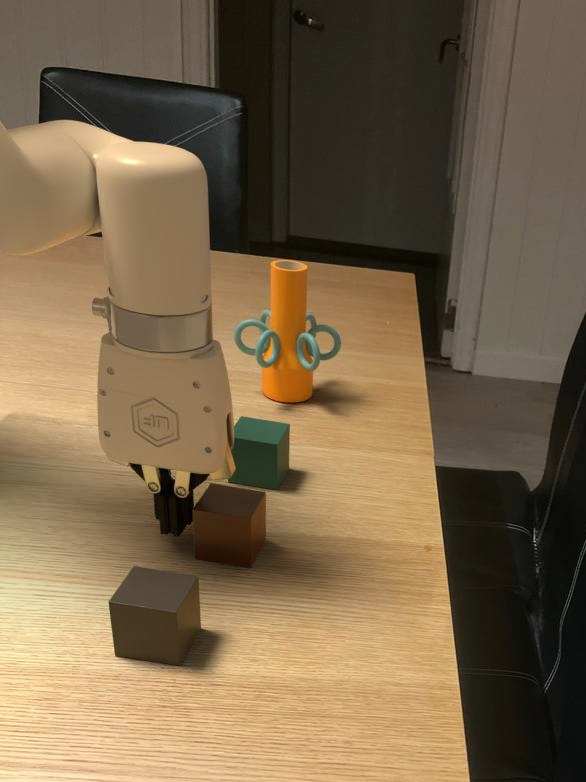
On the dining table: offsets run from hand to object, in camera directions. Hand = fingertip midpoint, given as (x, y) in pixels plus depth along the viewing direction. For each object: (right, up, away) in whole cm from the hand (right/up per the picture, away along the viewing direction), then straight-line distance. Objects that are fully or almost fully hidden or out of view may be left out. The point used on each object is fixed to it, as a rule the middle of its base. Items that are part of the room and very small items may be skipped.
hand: (175, 527), depth 84 cm
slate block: (+2, -10, -11) cm, 15 cm away
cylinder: (+4, +20, +30) cm, 36 cm away
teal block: (+4, +7, +13) cm, 15 cm away
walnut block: (+5, -2, +1) cm, 5 cm away
